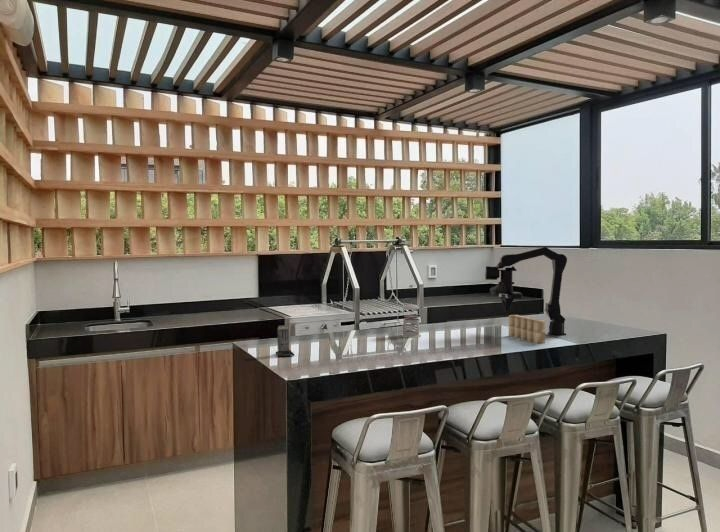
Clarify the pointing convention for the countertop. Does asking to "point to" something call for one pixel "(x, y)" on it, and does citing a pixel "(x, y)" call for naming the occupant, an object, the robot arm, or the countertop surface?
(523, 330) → the domino
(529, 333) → the domino
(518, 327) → the domino
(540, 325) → the domino
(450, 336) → the countertop surface
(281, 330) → the gray block on base
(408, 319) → the french press
